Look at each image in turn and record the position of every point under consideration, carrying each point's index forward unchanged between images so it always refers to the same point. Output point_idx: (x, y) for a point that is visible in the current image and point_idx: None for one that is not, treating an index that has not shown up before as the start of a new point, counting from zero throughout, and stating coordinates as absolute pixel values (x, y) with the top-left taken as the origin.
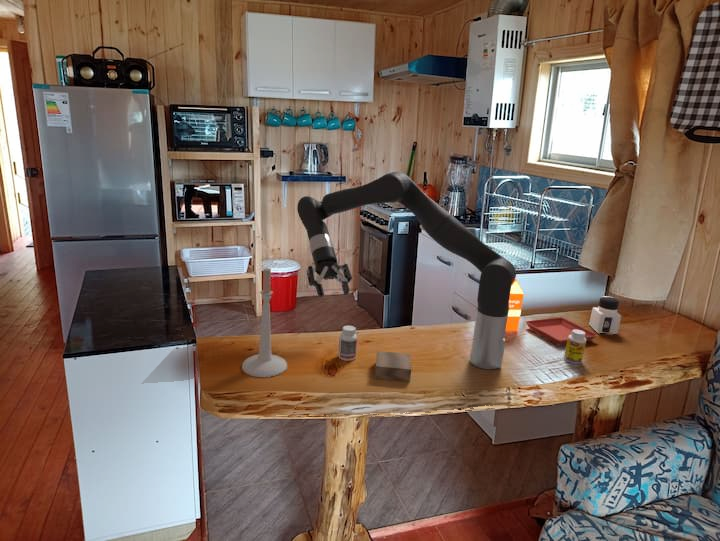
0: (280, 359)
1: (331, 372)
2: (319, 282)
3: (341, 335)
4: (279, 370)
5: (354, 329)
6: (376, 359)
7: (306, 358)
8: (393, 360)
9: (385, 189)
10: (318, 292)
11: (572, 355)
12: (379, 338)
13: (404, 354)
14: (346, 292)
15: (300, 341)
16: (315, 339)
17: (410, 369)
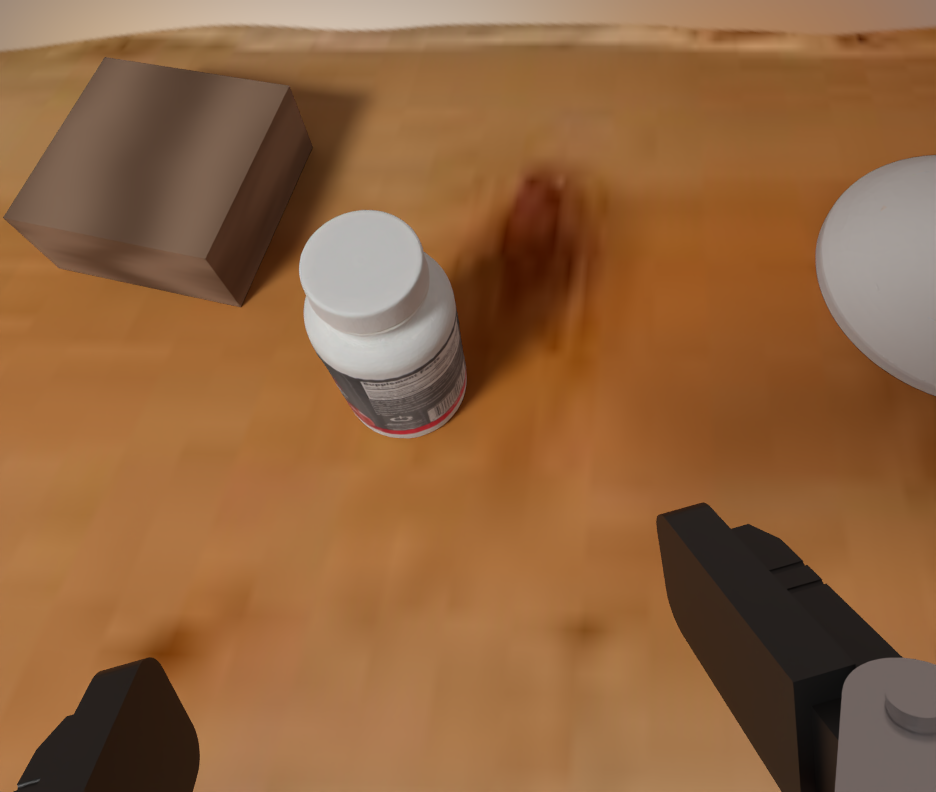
0: (885, 266)
1: (540, 208)
2: (887, 679)
3: (441, 286)
4: (862, 184)
5: (319, 231)
6: (256, 152)
7: (692, 375)
8: (155, 142)
9: None
10: (787, 561)
11: None
12: (42, 712)
13: (44, 211)
14: (151, 667)
15: None
16: (616, 718)
17: (109, 58)
